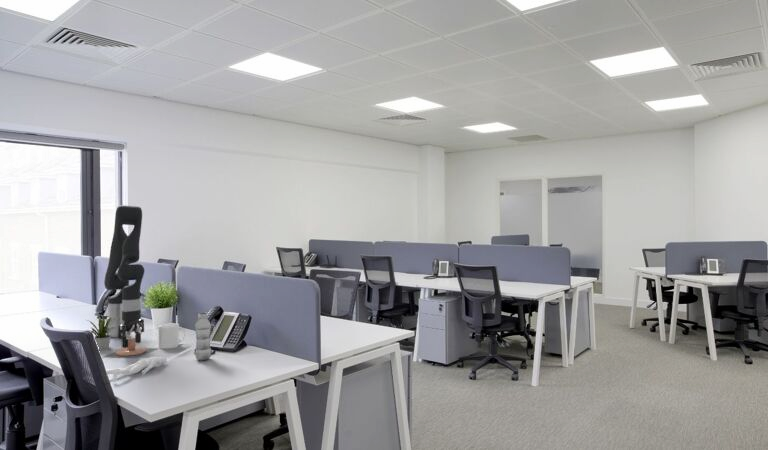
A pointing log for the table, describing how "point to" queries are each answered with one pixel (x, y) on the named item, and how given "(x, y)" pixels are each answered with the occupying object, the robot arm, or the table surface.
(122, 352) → the lid
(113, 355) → the mat
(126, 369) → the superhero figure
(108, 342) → the house plant
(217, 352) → the table surface
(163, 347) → the mug
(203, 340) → the plastic bottle
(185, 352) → the table surface
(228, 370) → the table surface
